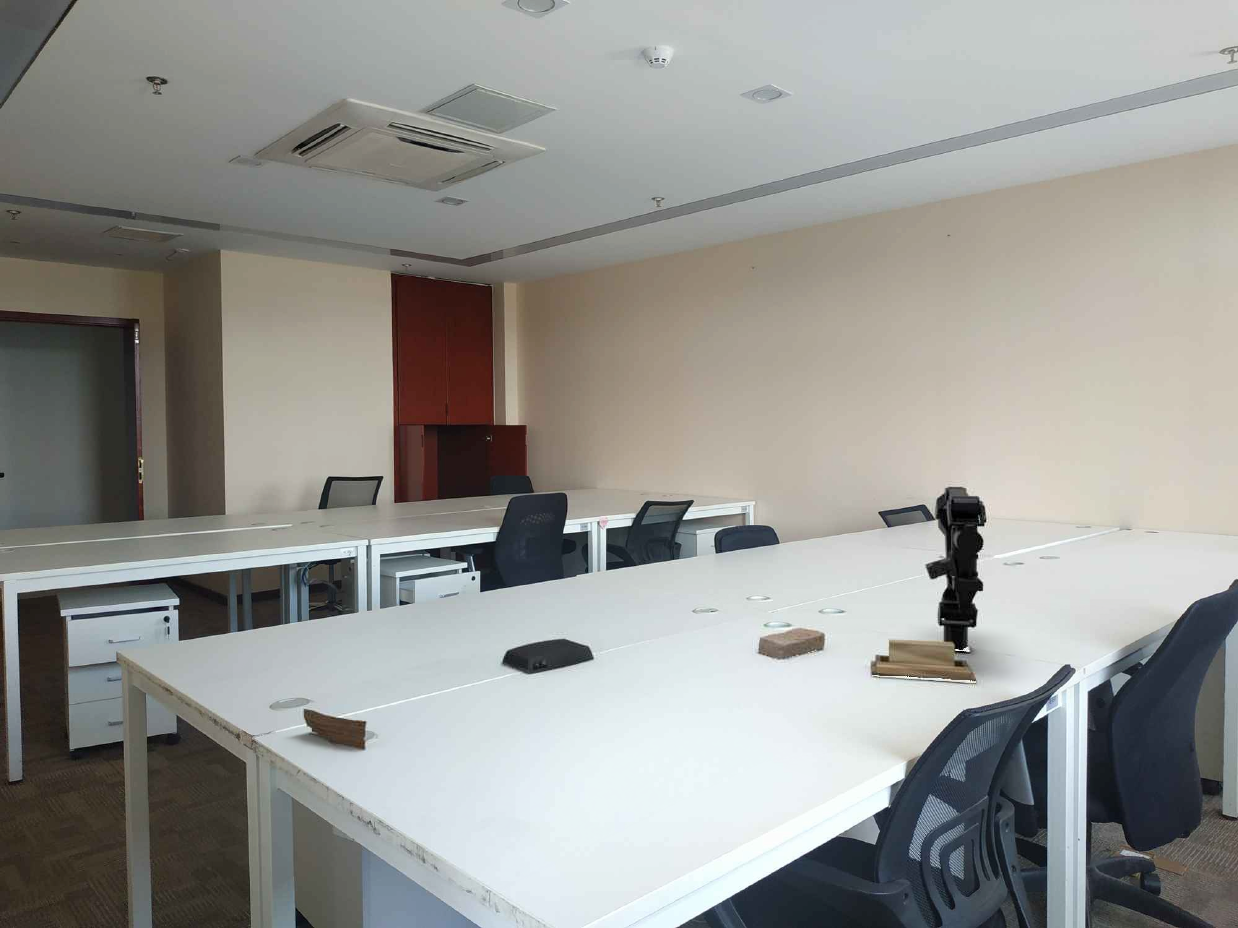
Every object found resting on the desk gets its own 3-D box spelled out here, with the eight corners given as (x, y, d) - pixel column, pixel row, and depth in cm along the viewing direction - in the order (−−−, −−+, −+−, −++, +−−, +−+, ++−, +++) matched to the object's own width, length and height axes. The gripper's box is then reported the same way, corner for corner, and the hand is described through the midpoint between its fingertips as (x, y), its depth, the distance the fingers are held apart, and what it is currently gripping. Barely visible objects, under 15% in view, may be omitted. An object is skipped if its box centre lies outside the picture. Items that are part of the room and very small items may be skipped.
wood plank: (371, 747, 153) (370, 719, 153) (362, 751, 151) (362, 723, 151) (311, 732, 160) (311, 705, 160) (302, 735, 159) (302, 709, 158)
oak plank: (888, 663, 201) (889, 638, 201) (952, 667, 197) (952, 642, 197) (889, 667, 197) (889, 642, 197) (954, 672, 194) (954, 645, 194)
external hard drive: (499, 665, 206) (499, 648, 206) (564, 651, 219) (564, 635, 219) (530, 677, 196) (530, 659, 196) (596, 661, 209) (596, 645, 209)
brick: (781, 661, 208) (781, 642, 208) (756, 653, 215) (756, 635, 215) (826, 650, 218) (826, 632, 218) (800, 644, 225) (801, 626, 225)
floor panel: (870, 664, 204) (871, 654, 203) (970, 671, 198) (970, 660, 198) (871, 676, 194) (872, 665, 194) (976, 684, 188) (976, 672, 188)
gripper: (924, 542, 214) (923, 604, 214) (931, 553, 196) (930, 620, 196) (972, 543, 211) (971, 606, 212) (984, 554, 193) (982, 623, 194)
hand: (963, 614), depth 203 cm, fingers closed
